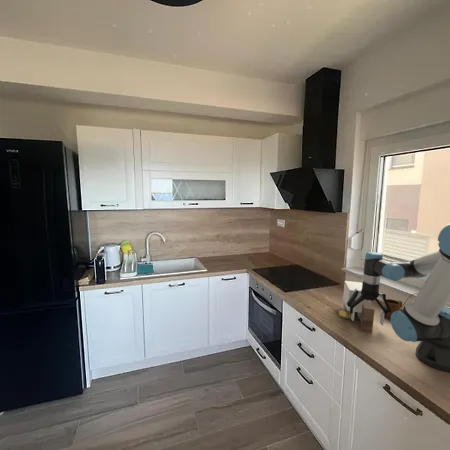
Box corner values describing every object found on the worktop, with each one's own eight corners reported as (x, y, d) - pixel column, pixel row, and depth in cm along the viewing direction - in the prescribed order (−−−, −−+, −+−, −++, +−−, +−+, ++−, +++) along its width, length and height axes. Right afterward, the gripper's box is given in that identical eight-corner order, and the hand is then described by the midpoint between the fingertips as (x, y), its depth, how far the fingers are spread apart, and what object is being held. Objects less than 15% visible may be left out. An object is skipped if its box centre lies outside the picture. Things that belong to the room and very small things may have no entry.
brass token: (354, 319, 143) (354, 315, 143) (341, 318, 144) (341, 314, 143) (349, 314, 150) (349, 310, 150) (337, 313, 151) (337, 309, 150)
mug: (394, 312, 154) (395, 297, 153) (406, 318, 147) (408, 302, 146) (379, 315, 149) (381, 299, 148) (392, 321, 142) (394, 305, 141)
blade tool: (372, 332, 130) (374, 309, 129) (362, 330, 132) (364, 308, 130) (362, 315, 149) (364, 295, 148) (354, 313, 150) (356, 294, 149)
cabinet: (369, 324, 138) (372, 293, 136) (347, 320, 141) (350, 290, 139) (362, 310, 154) (364, 282, 152) (342, 308, 157) (344, 280, 155)
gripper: (396, 283, 130) (391, 322, 133) (343, 277, 137) (339, 314, 140) (402, 288, 123) (396, 329, 126) (345, 281, 130) (341, 321, 133)
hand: (366, 321), depth 133 cm, fingers open, 13 cm apart
